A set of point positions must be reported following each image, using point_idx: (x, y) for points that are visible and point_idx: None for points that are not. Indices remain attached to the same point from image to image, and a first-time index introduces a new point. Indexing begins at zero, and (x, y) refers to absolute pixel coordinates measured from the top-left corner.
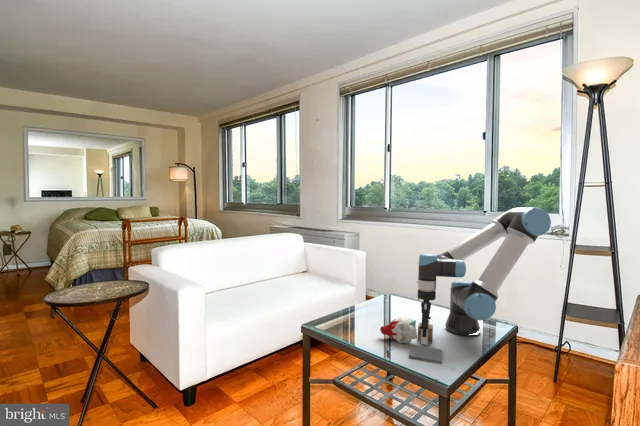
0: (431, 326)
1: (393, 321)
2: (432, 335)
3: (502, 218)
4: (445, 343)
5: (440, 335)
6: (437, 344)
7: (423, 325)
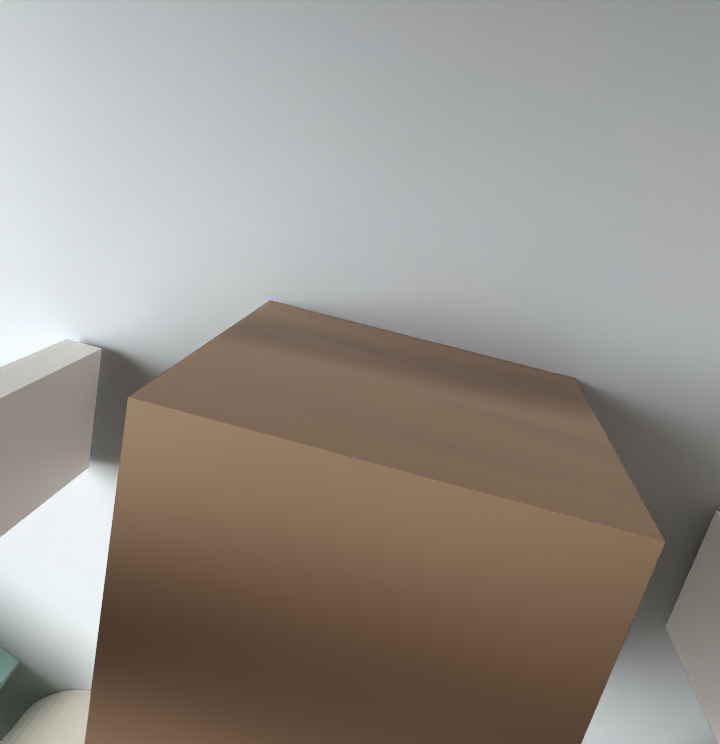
0: (375, 510)
1: None
2: (459, 386)
3: None
4: (587, 57)
5: (53, 66)
6: (675, 281)
7: (325, 742)
